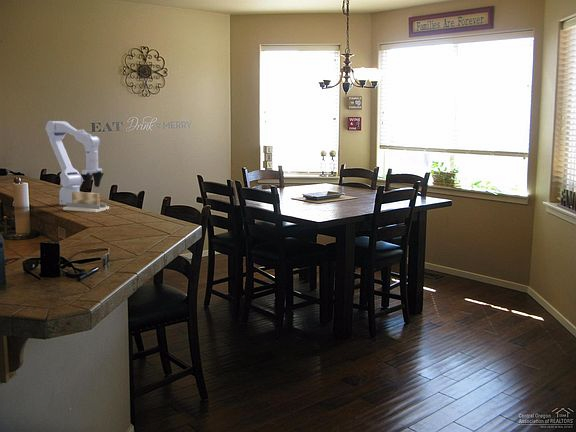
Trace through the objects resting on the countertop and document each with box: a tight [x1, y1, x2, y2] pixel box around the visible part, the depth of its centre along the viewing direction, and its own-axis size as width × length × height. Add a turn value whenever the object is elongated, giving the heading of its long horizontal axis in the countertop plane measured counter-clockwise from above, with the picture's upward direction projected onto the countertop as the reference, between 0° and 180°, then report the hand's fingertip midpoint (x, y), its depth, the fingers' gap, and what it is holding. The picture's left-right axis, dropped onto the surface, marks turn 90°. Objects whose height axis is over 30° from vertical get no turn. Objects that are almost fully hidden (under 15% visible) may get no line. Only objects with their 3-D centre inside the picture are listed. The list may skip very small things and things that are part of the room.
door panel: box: [72, 191, 101, 205], centre depth 293 cm, size 14×2×7 cm, turn 75°
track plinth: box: [62, 202, 110, 213], centre depth 294 cm, size 18×12×3 cm, turn 75°
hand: (92, 187), depth 301 cm, fingers open, 7 cm apart
